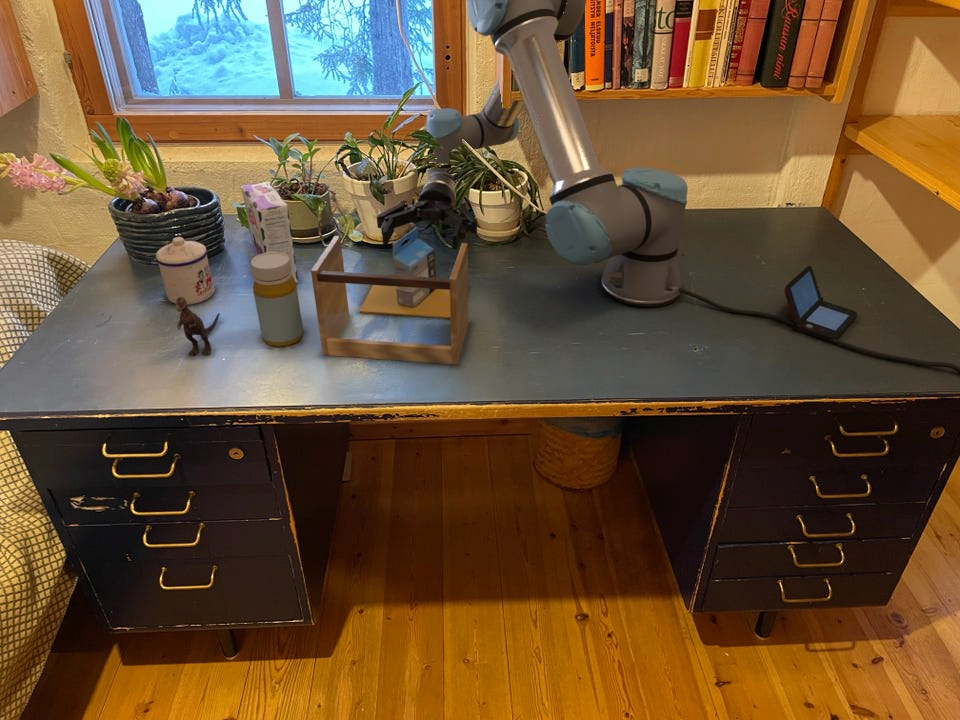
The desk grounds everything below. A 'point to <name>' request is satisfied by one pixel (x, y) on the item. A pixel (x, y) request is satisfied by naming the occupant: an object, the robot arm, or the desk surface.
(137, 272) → the desk surface
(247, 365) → the desk surface
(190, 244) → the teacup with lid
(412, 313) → the felt pad
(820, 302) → the handheld console
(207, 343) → the dinosaur model
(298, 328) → the bottle
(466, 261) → the frame
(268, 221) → the candy box
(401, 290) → the label tape box
